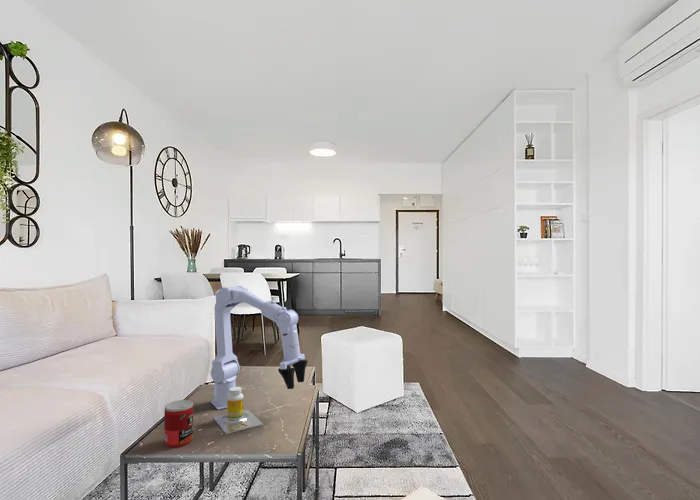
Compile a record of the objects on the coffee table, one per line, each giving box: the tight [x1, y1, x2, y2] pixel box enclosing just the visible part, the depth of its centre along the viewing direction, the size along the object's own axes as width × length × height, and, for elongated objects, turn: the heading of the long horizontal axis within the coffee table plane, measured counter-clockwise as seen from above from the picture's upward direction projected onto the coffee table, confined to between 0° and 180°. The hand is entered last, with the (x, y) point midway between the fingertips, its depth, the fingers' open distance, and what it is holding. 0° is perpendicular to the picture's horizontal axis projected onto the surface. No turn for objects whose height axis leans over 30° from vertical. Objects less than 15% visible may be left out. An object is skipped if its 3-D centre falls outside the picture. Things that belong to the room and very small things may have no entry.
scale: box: [212, 409, 264, 435], centre depth 128 cm, size 15×12×1 cm
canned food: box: [163, 399, 194, 448], centre depth 114 cm, size 8×8×11 cm
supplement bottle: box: [226, 386, 245, 420], centre depth 130 cm, size 5×5×10 cm
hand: (296, 385), depth 132 cm, fingers open, 7 cm apart
